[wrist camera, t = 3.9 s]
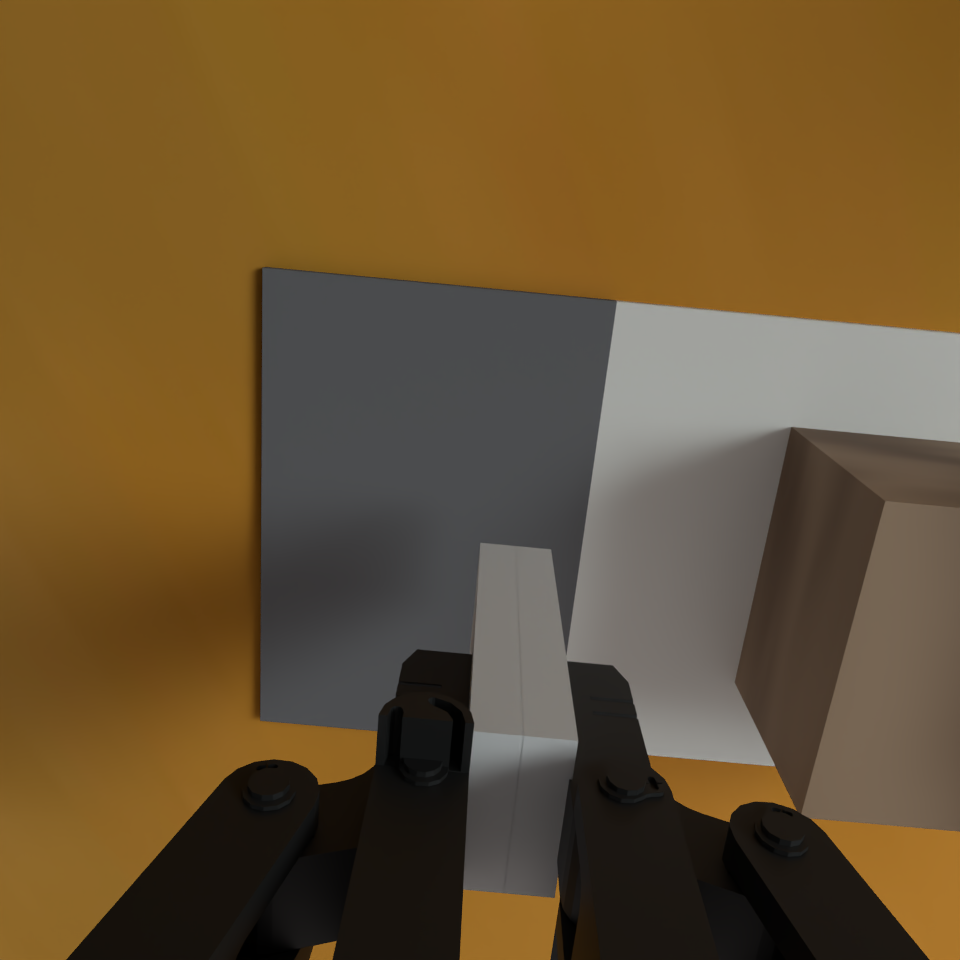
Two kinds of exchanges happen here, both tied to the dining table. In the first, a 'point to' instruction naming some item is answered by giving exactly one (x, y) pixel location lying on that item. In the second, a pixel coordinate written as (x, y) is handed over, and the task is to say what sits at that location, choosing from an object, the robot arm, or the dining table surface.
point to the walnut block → (861, 630)
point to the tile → (721, 491)
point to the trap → (410, 470)
